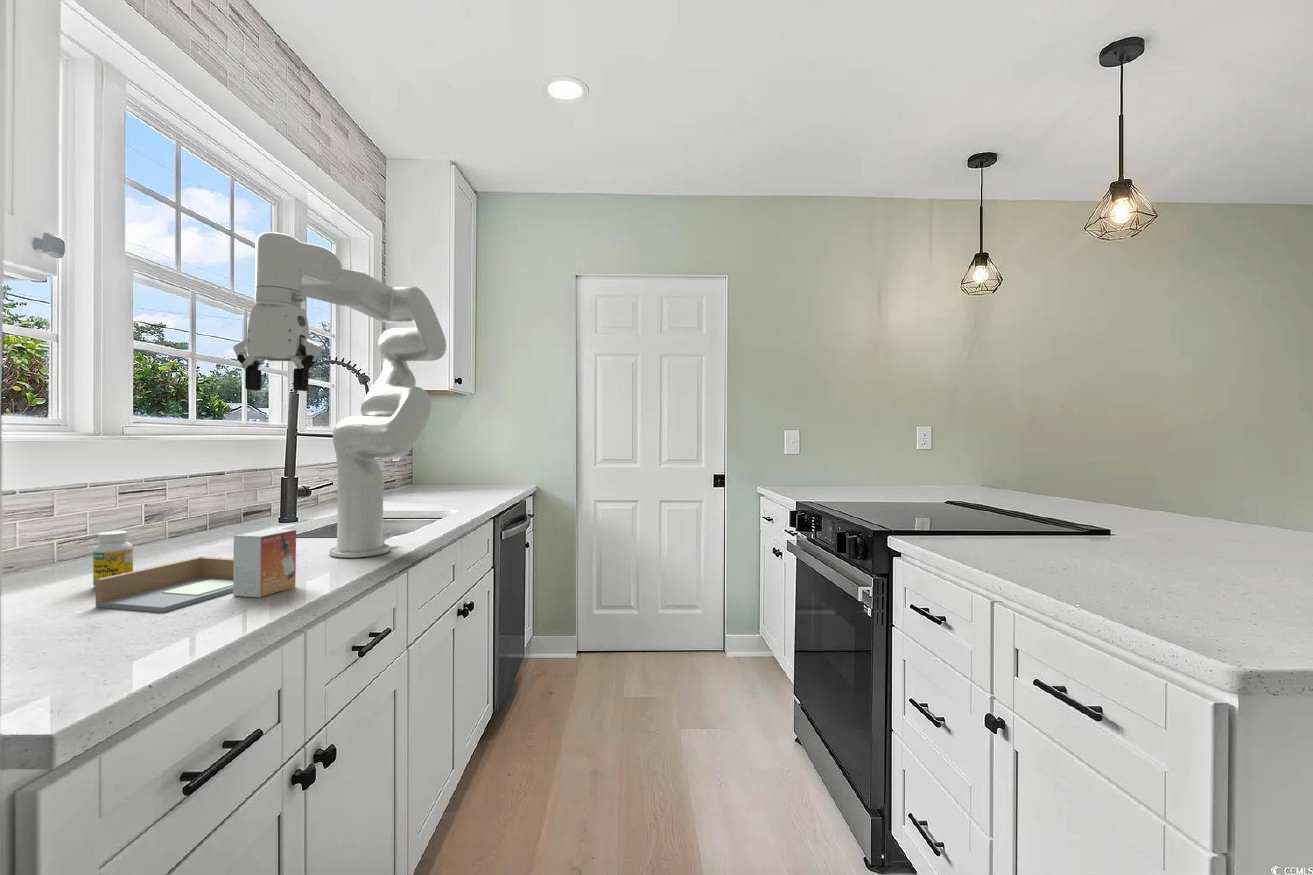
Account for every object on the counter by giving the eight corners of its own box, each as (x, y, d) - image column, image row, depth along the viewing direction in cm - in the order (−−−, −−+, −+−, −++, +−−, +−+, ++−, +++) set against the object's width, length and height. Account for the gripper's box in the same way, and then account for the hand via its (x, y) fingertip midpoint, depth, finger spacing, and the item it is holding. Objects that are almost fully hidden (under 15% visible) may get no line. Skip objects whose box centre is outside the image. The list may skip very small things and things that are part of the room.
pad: (210, 580, 110) (210, 579, 110) (243, 582, 109) (243, 581, 109) (162, 593, 102) (162, 591, 102) (197, 595, 100) (197, 594, 100)
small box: (259, 598, 102) (260, 536, 102) (231, 596, 103) (232, 535, 103) (296, 586, 110) (297, 529, 110) (270, 584, 111) (271, 527, 111)
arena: (200, 579, 114) (200, 556, 114) (259, 583, 111) (260, 560, 111) (95, 606, 96) (95, 579, 96) (163, 612, 94) (163, 584, 94)
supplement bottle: (139, 581, 112) (139, 529, 112) (121, 588, 107) (121, 534, 107) (105, 582, 111) (105, 530, 111) (85, 590, 106) (85, 535, 106)
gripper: (333, 304, 118) (331, 392, 118) (251, 305, 120) (250, 391, 120) (307, 295, 111) (305, 389, 111) (220, 296, 113) (218, 388, 112)
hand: (276, 390), depth 115 cm, fingers open, 9 cm apart
